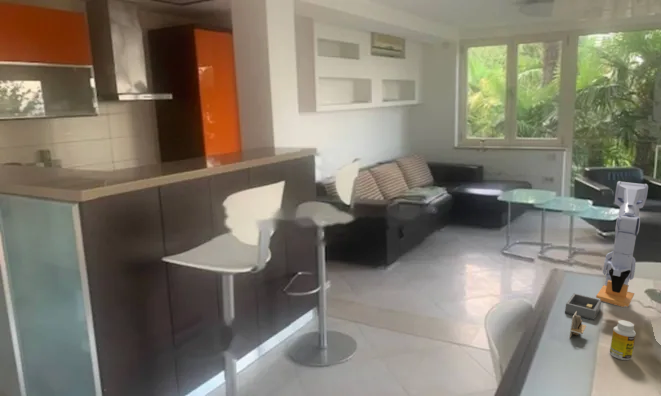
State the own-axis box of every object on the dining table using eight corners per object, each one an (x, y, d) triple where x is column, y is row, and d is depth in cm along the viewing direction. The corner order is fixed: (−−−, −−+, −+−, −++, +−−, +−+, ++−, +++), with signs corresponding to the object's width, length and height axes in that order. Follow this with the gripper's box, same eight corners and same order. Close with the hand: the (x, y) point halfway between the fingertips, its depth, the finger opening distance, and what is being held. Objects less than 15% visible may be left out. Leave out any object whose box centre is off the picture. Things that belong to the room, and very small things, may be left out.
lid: (602, 289, 175) (605, 274, 174) (633, 298, 170) (636, 282, 168) (595, 300, 166) (598, 284, 164) (627, 309, 160) (631, 292, 159)
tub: (572, 302, 181) (573, 293, 181) (600, 309, 176) (601, 300, 175) (564, 312, 172) (566, 303, 171) (593, 320, 167) (595, 310, 166)
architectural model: (584, 336, 156) (588, 314, 155) (580, 344, 151) (584, 321, 149) (573, 332, 158) (576, 311, 157) (568, 340, 153) (571, 318, 151)
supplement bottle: (625, 363, 140) (631, 329, 138) (605, 354, 145) (611, 321, 143) (635, 357, 143) (641, 324, 141) (615, 349, 148) (621, 317, 146)
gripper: (613, 244, 172) (607, 281, 175) (605, 254, 161) (599, 293, 164) (636, 249, 168) (630, 287, 171) (630, 259, 157) (623, 299, 160)
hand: (616, 290), depth 167 cm, fingers closed on lid
